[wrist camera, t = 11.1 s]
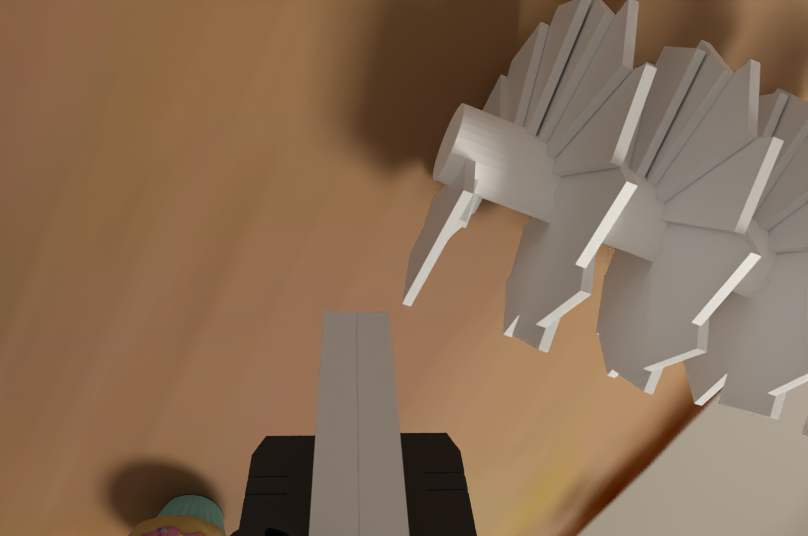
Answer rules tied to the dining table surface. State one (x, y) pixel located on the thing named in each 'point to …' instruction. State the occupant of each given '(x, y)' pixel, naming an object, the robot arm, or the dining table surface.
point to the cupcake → (184, 519)
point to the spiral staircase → (642, 205)
